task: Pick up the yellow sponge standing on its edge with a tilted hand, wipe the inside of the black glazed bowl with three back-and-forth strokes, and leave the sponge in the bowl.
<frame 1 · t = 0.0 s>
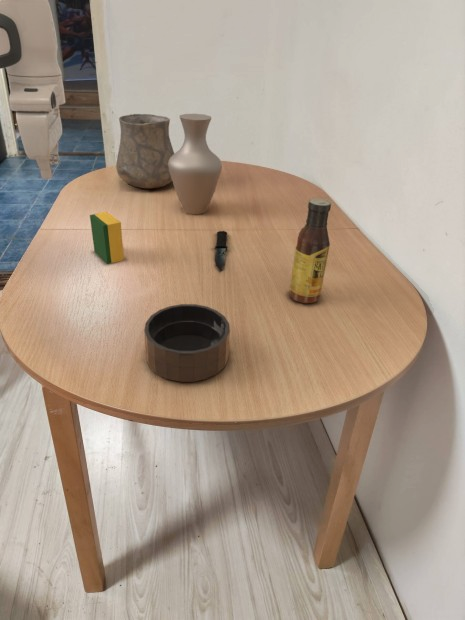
hand: (51, 170, 88), 20 cm above the table, tool pointing down, fingers open, 8 cm apart
bowl: (187, 356, 74), on the table
sauce bottle: (304, 297, 92), on the table
vessel: (146, 184, 146), on the table
vase: (194, 210, 129), on the table
knife: (220, 254, 107), on the table
sponge: (109, 255, 103), on the table
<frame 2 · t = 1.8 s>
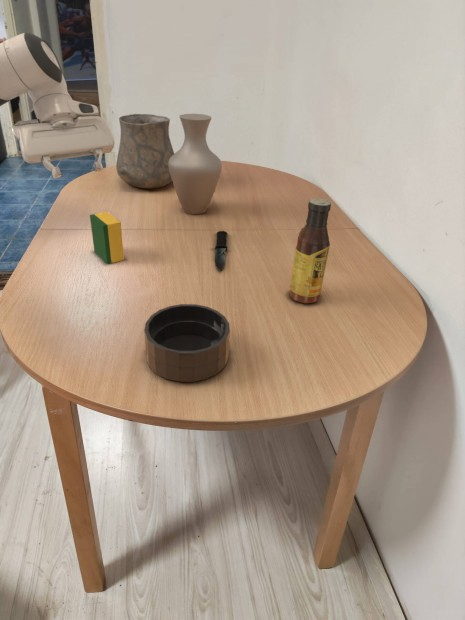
hand: (79, 173, 102), 16 cm above the table, tool tilted 45°, fingers open, 8 cm apart
nothing on the table moved.
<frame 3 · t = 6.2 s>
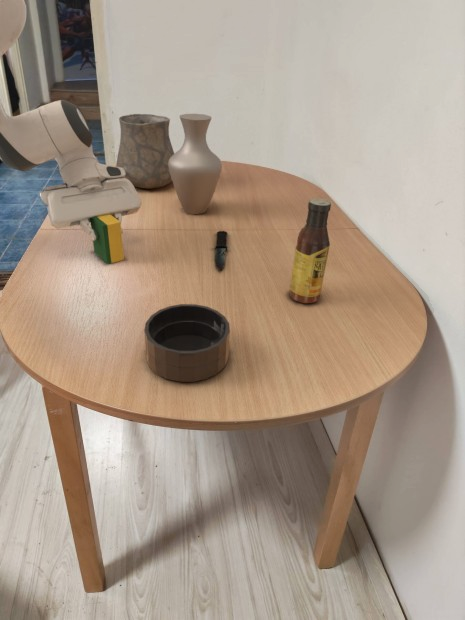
hand: (108, 237, 100), 5 cm above the table, tool tilted 45°, fingers closed on sponge, 4 cm apart
sponge: (108, 255, 103), on the table, touching gripper
everything else where it was.
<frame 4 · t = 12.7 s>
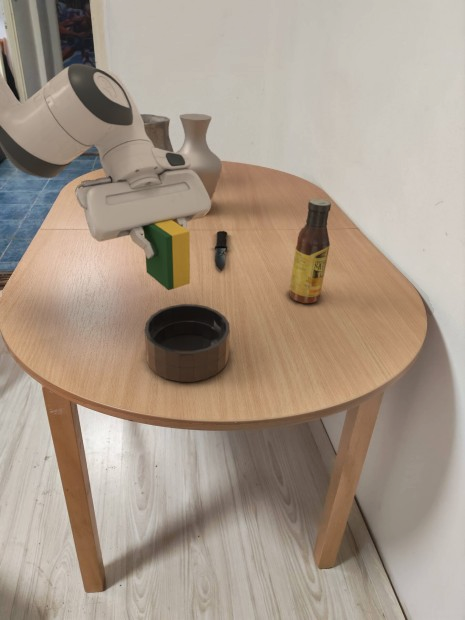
hand: (169, 252, 71), 16 cm above the table, tool tilted 45°, fingers closed on sponge, 4 cm apart
sponge: (167, 277, 74), point 11 cm above the table, touching gripper
everything else where it was.
when the fingers open (5 cm above the table, at t = 19.3 s): sponge stays where it is, resting on bowl.
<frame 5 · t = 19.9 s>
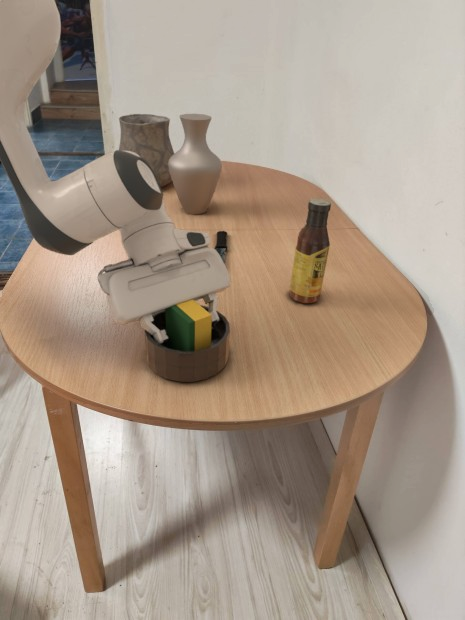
hand: (189, 332, 71), 5 cm above the table, tool tilted 45°, fingers open, 8 cm apart
sponge: (188, 354, 74), resting on bowl
everything else where it was.
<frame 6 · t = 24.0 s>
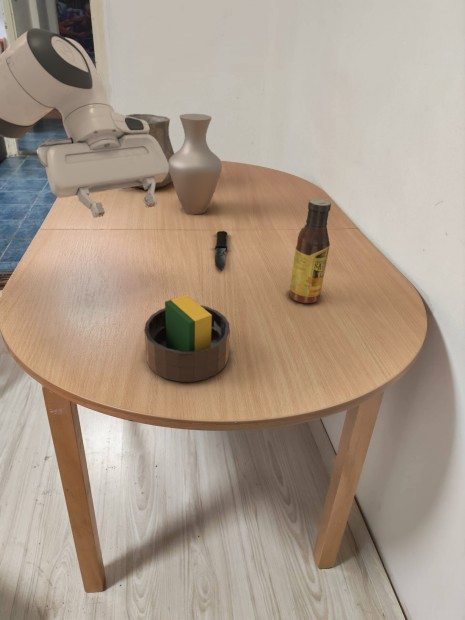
hand: (126, 210, 75), 19 cm above the table, tool tilted 45°, fingers open, 8 cm apart
nothing on the table moved.
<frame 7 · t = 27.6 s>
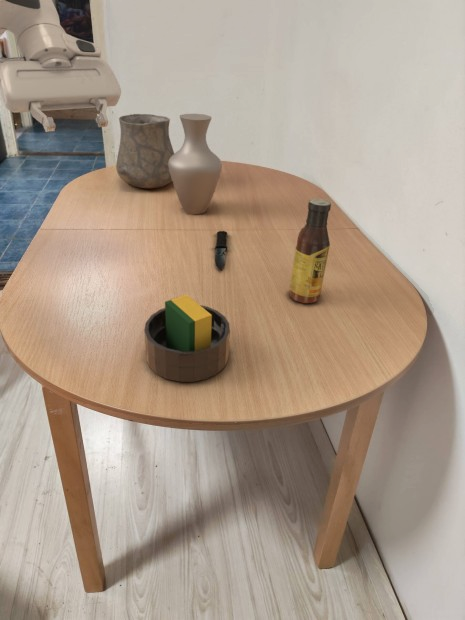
hand: (78, 127, 79), 29 cm above the table, tool tilted 45°, fingers open, 8 cm apart
nothing on the table moved.
at the end: sponge inside the target area in the bowl (0.1 cm from its centre), point 0.5 cm above the bowl's base; the gripper is holding nothing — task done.
